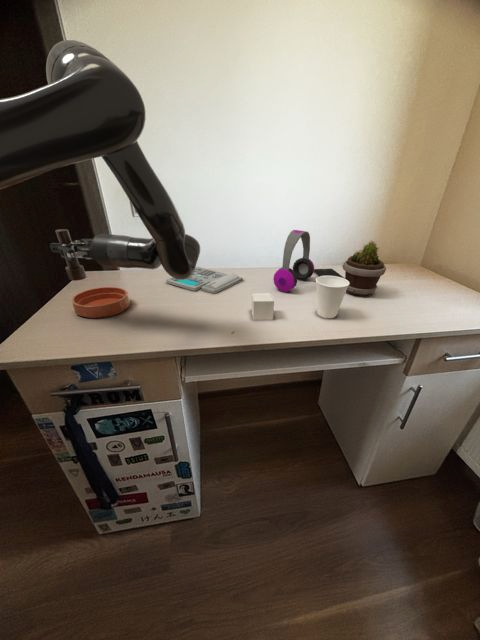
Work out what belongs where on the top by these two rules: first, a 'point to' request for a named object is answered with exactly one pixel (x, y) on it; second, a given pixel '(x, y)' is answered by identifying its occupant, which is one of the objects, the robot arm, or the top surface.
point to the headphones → (302, 267)
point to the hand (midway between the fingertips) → (57, 246)
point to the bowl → (100, 302)
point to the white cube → (262, 306)
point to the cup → (330, 295)
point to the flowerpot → (364, 271)
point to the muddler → (73, 267)
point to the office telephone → (207, 280)
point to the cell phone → (327, 272)
